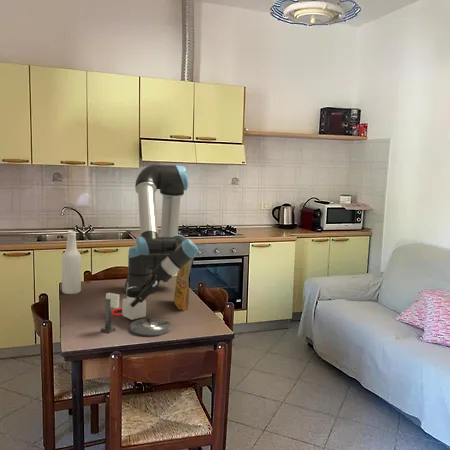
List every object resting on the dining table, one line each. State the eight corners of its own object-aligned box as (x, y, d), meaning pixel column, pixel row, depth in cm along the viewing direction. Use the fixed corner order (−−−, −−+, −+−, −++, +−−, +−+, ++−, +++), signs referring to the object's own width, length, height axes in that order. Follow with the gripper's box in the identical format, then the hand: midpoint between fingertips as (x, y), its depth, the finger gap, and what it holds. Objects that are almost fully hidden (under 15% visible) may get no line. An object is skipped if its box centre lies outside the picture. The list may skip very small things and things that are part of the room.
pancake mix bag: (185, 299, 224) (187, 241, 221) (194, 311, 206) (196, 249, 203) (171, 300, 223) (173, 242, 219) (179, 312, 204) (181, 249, 201)
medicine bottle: (146, 316, 193) (147, 288, 191) (131, 320, 188) (132, 291, 186) (136, 312, 198) (136, 284, 196) (121, 315, 193) (122, 287, 191)
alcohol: (79, 294, 225) (79, 232, 221) (60, 294, 224) (60, 232, 220) (82, 289, 233) (82, 230, 230) (63, 289, 232) (63, 229, 228)
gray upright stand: (107, 328, 181) (107, 291, 179) (120, 330, 179) (120, 294, 177) (100, 331, 177) (100, 294, 176) (113, 334, 175) (114, 296, 173)
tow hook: (119, 319, 194) (136, 313, 201) (118, 289, 192) (135, 284, 199) (106, 314, 199) (123, 309, 206) (105, 285, 197) (122, 280, 204)
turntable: (144, 320, 192) (144, 316, 191) (176, 326, 186) (176, 322, 186) (122, 332, 178) (122, 326, 178) (156, 339, 172) (156, 333, 172)
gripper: (173, 283, 181) (131, 322, 181) (172, 269, 203) (134, 304, 203) (159, 269, 180) (117, 309, 180) (160, 257, 202) (122, 292, 202)
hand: (126, 306), depth 192 cm, fingers closed on medicine bottle, 10 cm apart
